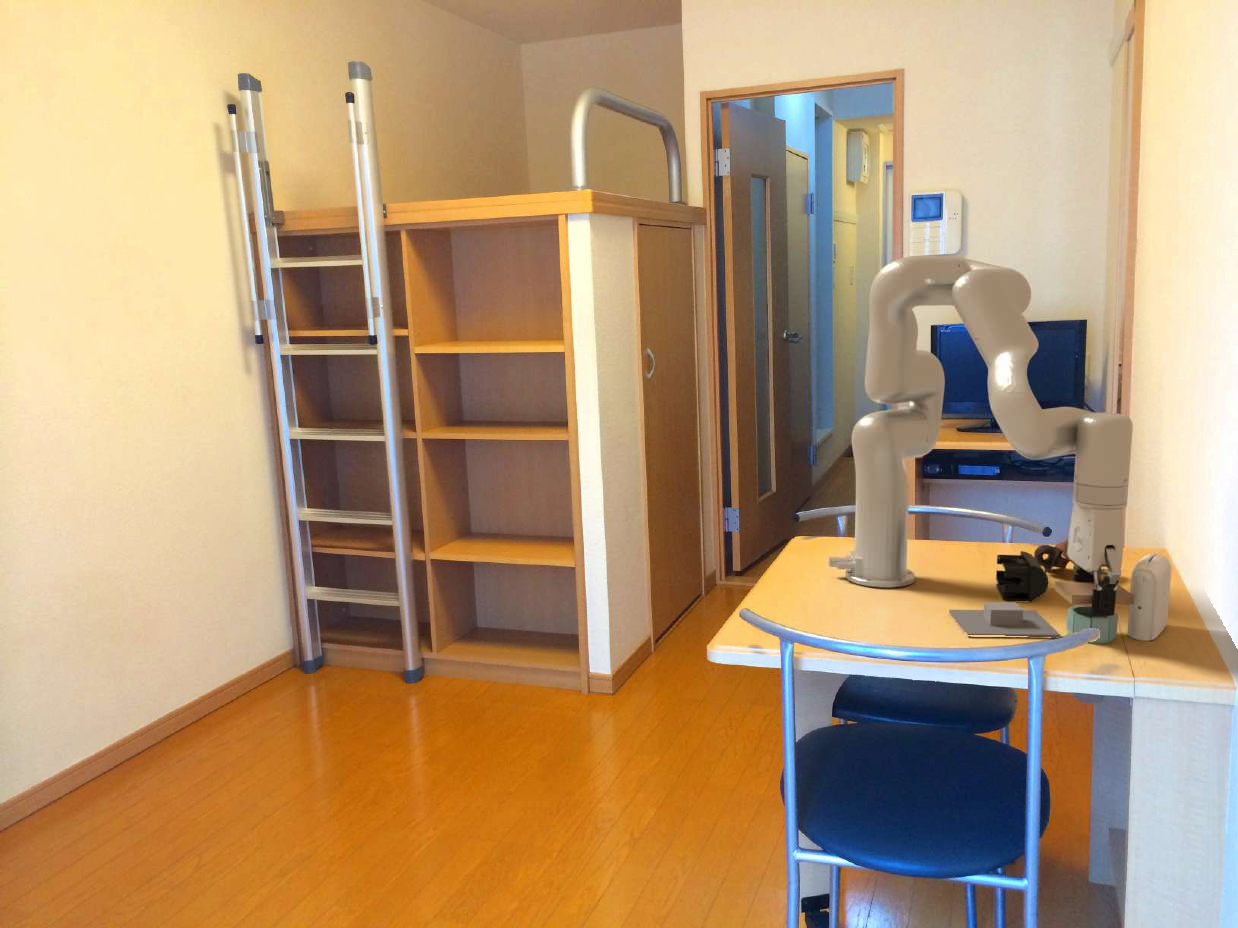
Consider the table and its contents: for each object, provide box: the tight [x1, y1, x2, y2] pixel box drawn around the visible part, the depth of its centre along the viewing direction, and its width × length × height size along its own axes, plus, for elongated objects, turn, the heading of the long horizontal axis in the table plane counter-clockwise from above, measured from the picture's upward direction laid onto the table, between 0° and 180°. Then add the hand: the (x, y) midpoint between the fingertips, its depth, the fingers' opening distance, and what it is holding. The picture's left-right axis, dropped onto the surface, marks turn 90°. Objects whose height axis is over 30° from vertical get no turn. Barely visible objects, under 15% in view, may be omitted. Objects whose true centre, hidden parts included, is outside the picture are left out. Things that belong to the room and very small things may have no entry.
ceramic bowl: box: [1066, 604, 1119, 645], centre depth 158 cm, size 7×7×4 cm
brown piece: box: [1033, 537, 1102, 574], centre depth 190 cm, size 12×10×8 cm
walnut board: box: [1054, 581, 1134, 606], centre depth 157 cm, size 9×7×1 cm
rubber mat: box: [948, 601, 1061, 639], centre depth 164 cm, size 14×12×3 cm
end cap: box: [995, 550, 1050, 603], centre depth 179 cm, size 10×7×7 cm
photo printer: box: [1127, 552, 1172, 642], centre depth 159 cm, size 10×4×12 cm, turn 140°
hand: (1092, 605), depth 157 cm, fingers closed on walnut board, 7 cm apart
